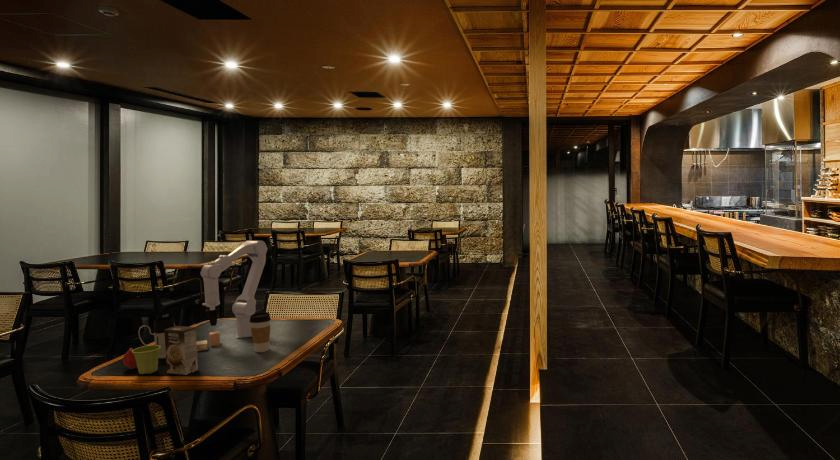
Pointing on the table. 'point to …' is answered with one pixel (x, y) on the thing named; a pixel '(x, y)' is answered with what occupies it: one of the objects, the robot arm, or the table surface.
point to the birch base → (202, 345)
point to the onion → (129, 359)
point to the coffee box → (181, 350)
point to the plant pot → (147, 358)
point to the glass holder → (160, 333)
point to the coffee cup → (260, 331)
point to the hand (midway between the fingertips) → (213, 323)
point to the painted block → (214, 338)
